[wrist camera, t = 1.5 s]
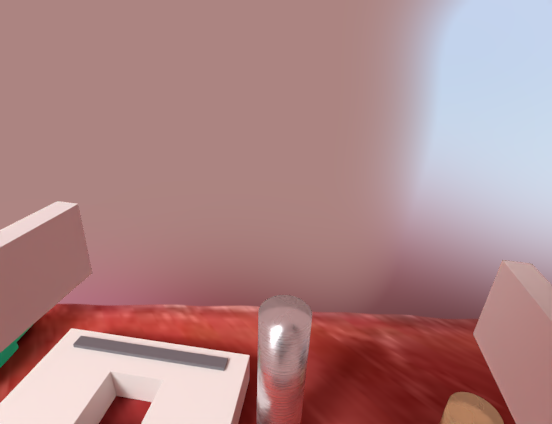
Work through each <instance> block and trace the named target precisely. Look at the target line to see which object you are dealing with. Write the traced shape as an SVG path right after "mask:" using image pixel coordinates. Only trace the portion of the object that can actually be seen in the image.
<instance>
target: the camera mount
mask: <svg viewBox="0 0 552 424" xmlns="http://www.w3.org/2000/svg"><path fill="white" fill-rule="evenodd" d="M29 328H30V327H29ZM29 328H28V329H29ZM28 329H27V330H26V331H25V332H24V333H22V334H21V335H20V336H19V337H18V338H17V339H16V340H14V341H13V342H12V343H11V344H10V345H9V346H8V347H6V348H5V349H4V350H3V351H2V352H1V353H0V368H1V367H2V366H3V365H4V364H5V362H6V361H7V360H8V359H9V358H10V357H11V356H12V355H13V354H14V353H15V352H16V351H17V349H18V348H19V347H18V344H17V341H18V340H19V339H20V338H21V337H22V336H23V335H24V334H25V333H26V332H27V331H28Z"/></svg>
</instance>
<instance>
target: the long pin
mask: <svg viewBox="0 0 552 424" xmlns="http://www.w3.org/2000/svg"><path fill="white" fill-rule="evenodd" d="M311 322H312V311H311V309H310V307H309V305H308V304H307V303H305V302H304V301H303V300H301V299H299V298H297V297H294V296H289V295H278V296H274V297H271V298H269V299H267V300H265V301H264V302H263V303H262V304H261V306H260V308H259V318H258V372H257V424H301V416H302V407H303V397H304V388H305V379H306V369H307V360H308V350H309V341H310V331H311Z"/></svg>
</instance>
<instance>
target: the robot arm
mask: <svg viewBox="0 0 552 424" xmlns="http://www.w3.org/2000/svg"><path fill="white" fill-rule="evenodd" d="M91 274H92V269H91V264H90V260H89V254H88V250H87V245H86V240H85V235H84V230H83V225H82V220H81V216H80V211H79V206H78V204H75V203H67V202H60V201H57V202H55V203H53V204H51V205H49V206H47V207H45V208H43V209H41V210H39V211H37V212H35V213H33V214H31V215H29V216H27V217H25V218H23V219H21V220H19V221H17V222H15V223H13V224H11V225H9V226H7V227H5V228H3V229H1V230H0V353H1V352H2V351H3V350H4V349H5V348H6V347H8V346H9V345H10V344H11V343H12V342H13V341H14V340H16V339H17V338H18V337H19V336H20V335H21V334H22V333H24V332H25V331H26V330H27V329H28V328H29V327H31V326H32V325H33V324H34V323H35V322H36V321H37V320H39V319H40V318H41V317H42V316H43V315H44V314H46V313H47V312H48V311H49V310H50V309H51V308H52V307H54V306H55V305H56V304H57V303H58V302H59V301H60V300H62V299H63V298H64V297H65V296H66V295H67V294H69V293H70V292H71V291H72V290H73V289H74V288H76V286H78V285H79V284H80V283H81V282H82V281H84V280H85V279H86V278H87V277H88V276H89V275H91ZM473 335H474V337H475V339H476V341H477V343H478V346H479V348H480V350H481V352H482V354H483V356H484V358H485V360H486V362H487V364H488V366H489V369H490V371H491V373H492V375H493V377H494V379H495V381H496V383H497V385H498V387H499V389H500V392H501V394H502V396H503V398H504V400H505V402H506V404H507V406H508V408H509V410H510V412H511V415H512V417H513V419H514V421H515V423H516V424H552V285H551V284H550V283H549V282H548V280H547V279H546V278H545V277H544V276H543V275H542V274H541V273H540V272H539V271H538V270H537V269H536V268H535V266H534V265H533V264H529V263H522V262H514V261H507V260H502V263H501V265H500V268H499V270H498V273H497V275H496V278H495V280H494V283H493V285H492V288H491V290H490V293H489V295H488V298H487V300H486V303H485V305H484V308H483V310H482V313H481V315H480V318H479V320H478V323H477V325H476V328H475V330H474V333H473Z"/></svg>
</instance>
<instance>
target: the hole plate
mask: <svg viewBox="0 0 552 424" xmlns="http://www.w3.org/2000/svg"><path fill="white" fill-rule="evenodd" d="M249 379H250V355H245V354H238V353H231V352H225V351H218V350H211V349H205V348H198V347H192V346H185V345H178V344H172V343H165V342H159V341H152V340H145V339H139V338H132V337H126V336H119V335H112V334H106V333H99V332H93V331H86V330H79V329H73V328H71V329H70V330H69V332H68V333H67V334H66V335H65V336H64V337H63V338H62V339H61V340H60V341H59V342H58V343H57V344H56V345H55V346H54V347H53V348H52V349H51V350H50V352H49V353H48V354H47V355H46V356H45V357H44V358H43V359H42V360H41V361H40V362H39V363H38V364H37V365H36V366H35V367H34V368H33V369H32V370H31V372H30V373H29V374H28V375H27V376H26V377H25V378H24V379H23V380H22V381H21V382H20V383H19V384H18V385H17V386H16V387H15V388H14V389H13V390H12V392H11V393H10V394H9V395H8V396H7V397H6V398H5V399H4V400H3V401H2V402H1V403H0V424H99V422H100V421H101V419H102V418H103V416H104V415H105V413H106V411H107V410H108V408H109V407H110V405H111V403H112V402H113V400H114V399H115V397H116V396H120V397H126V398H132V399H137V400H143V401H149V402H152V404H151V406H150V408H149V410H148V411H147V413H146V415H145V417H144V419H143V421H142V423H141V424H238V422H239V418H240V414H241V410H242V407H243V403H244V399H245V395H246V391H247V387H248V383H249Z"/></svg>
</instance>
